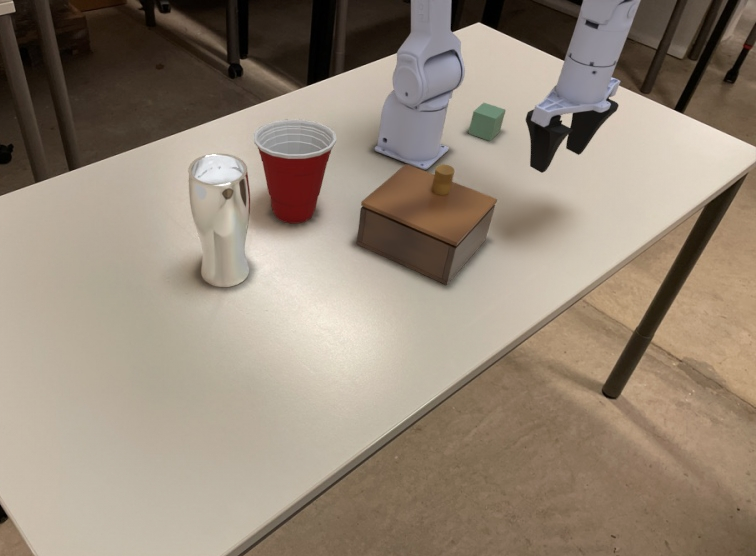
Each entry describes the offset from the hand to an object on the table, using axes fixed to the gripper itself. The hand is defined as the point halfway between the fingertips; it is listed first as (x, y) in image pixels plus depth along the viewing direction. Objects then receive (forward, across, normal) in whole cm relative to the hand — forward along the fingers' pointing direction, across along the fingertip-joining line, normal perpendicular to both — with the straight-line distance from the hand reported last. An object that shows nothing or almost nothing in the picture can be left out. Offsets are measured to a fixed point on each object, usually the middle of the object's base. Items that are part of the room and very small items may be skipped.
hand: (555, 159), depth 87 cm
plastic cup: (+10, -27, +22) cm, 36 cm away
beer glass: (+10, -42, +16) cm, 46 cm away
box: (+10, -17, +6) cm, 20 cm away
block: (+10, +13, +21) cm, 27 cm away
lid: (+4, -17, +6) cm, 18 cm away
